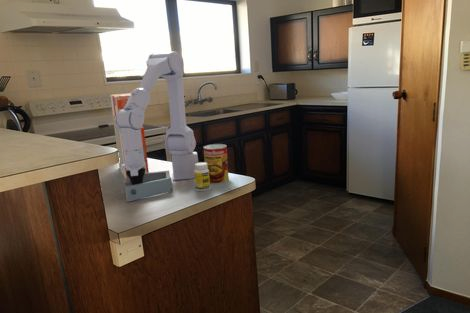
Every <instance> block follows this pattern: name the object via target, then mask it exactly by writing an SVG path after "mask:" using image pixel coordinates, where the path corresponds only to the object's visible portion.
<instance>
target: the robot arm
mask: <svg viewBox="0 0 470 313" xmlns="http://www.w3.org/2000/svg"><path fill="white" fill-rule="evenodd" d="M145 63H146V67H147V68H146V69H145V73H144V75H143V77H142V80H141V82H140V85H139V87H137V88H134V89H133V90H131V92H130V93H131V96H130V97H129V99H128V101H127V103H126V105H125V107H124V109H123V110H120V111H119V112H118V113H117V115H116V120H115V124H116V126H117V127H118V128H119V133H120V134H121V136H122V143H123V151H124V159H125V164H122V165H121V167H122V168H127V169H128V171H126V174H127V176H128V177H129V178H130V180H131V183H132V185H135V184H140V183H143V177H144V174H145V168H142V167H144V166H145V165H146V164H145V161H144V153H143V144H142V136H141V127H142V125H144V123H145V115H146V114H145V111H146V110H147V107H148V105H149V103H150V101H151V99H152V97H151V95H150V93H151V92H152V90H153V88H154V86H155V84H156V83H157V81H158V80H159V79H160V77H162V78H163V79H164V80H165V81H166V82H167V92H168V93H167V95H168V105H169V120H170V127H169V128H168V129H167V130H166V132H165V141H164V145H165V149H166V150H167V151H169V154H170V155H171V164H172V165H171V166H172V173H171V179H172V181H182V180H187V179H188V180H190V179H195V175H194V171H195V170H196V169H195V164H196V163H199V157H198V152H197V151H194V150H195V148H196V145H197V142H196V138H195V135H194V130H193V129H192V128H190V127H189V126H188V125H187V120H186V119H187V118H186V104H185V93H184V92H185V91H184V90H185V89H184V77H183V76H184V65H183V57H182V56H181V55H180V53H179V52H178V51H175V50H174V51H167V52H152V53H150V54H149V55H148V58H147V60H146V62H145Z"/></svg>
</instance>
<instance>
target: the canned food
mask: <svg viewBox="0 0 470 313" xmlns="http://www.w3.org/2000/svg"><path fill="white" fill-rule="evenodd" d="M203 156H204V157H203V158H204V161H203V162H205V163H207V165H208V168H207V169H209V178H210V184H213V185H214V184H215V185H216V184H217V185H218V184H223V183H226V182H228V181H229V165H228V148H227V145H226V144H223V143H213V144H207V145H205V146H204V145H203Z"/></svg>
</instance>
